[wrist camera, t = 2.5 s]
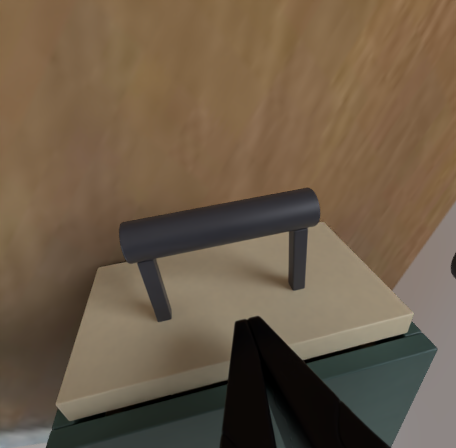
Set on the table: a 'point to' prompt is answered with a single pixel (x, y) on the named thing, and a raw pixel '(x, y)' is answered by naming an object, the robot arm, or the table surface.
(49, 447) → the cabinet
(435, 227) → the table surface
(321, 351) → the drawer
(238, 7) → the table surface
